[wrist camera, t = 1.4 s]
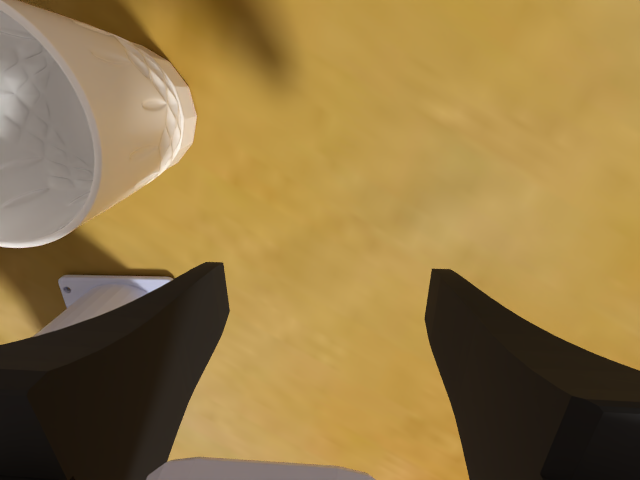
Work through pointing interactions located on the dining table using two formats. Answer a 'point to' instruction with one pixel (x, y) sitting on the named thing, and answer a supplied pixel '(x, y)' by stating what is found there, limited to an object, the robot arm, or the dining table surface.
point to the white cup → (79, 122)
